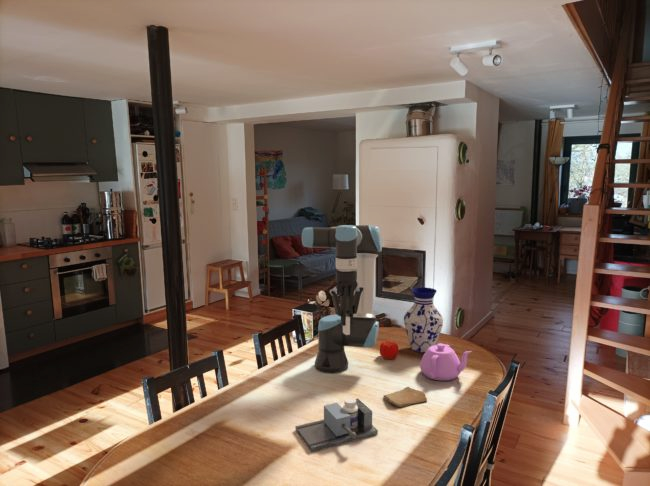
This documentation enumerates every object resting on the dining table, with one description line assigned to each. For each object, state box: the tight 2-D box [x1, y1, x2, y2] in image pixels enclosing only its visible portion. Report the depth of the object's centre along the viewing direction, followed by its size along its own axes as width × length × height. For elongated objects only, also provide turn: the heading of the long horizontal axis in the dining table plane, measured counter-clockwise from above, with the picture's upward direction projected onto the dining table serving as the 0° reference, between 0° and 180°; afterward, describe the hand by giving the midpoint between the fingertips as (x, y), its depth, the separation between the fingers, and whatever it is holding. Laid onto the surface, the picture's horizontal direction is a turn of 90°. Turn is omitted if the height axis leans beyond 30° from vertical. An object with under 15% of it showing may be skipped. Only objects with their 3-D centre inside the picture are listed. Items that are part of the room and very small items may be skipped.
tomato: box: [379, 340, 399, 360], centre depth 222 cm, size 9×9×8 cm
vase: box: [403, 286, 444, 354], centre depth 231 cm, size 19×19×30 cm
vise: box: [295, 398, 379, 453], centre depth 158 cm, size 14×24×8 cm, turn 115°
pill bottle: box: [342, 397, 358, 428], centre depth 160 cm, size 5×5×9 cm
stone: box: [383, 386, 428, 408], centre depth 181 cm, size 11×16×3 cm
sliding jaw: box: [323, 402, 356, 439], centre depth 154 cm, size 18×5×6 cm, turn 25°
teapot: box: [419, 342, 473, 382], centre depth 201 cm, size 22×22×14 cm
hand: (346, 333), depth 169 cm, fingers closed
